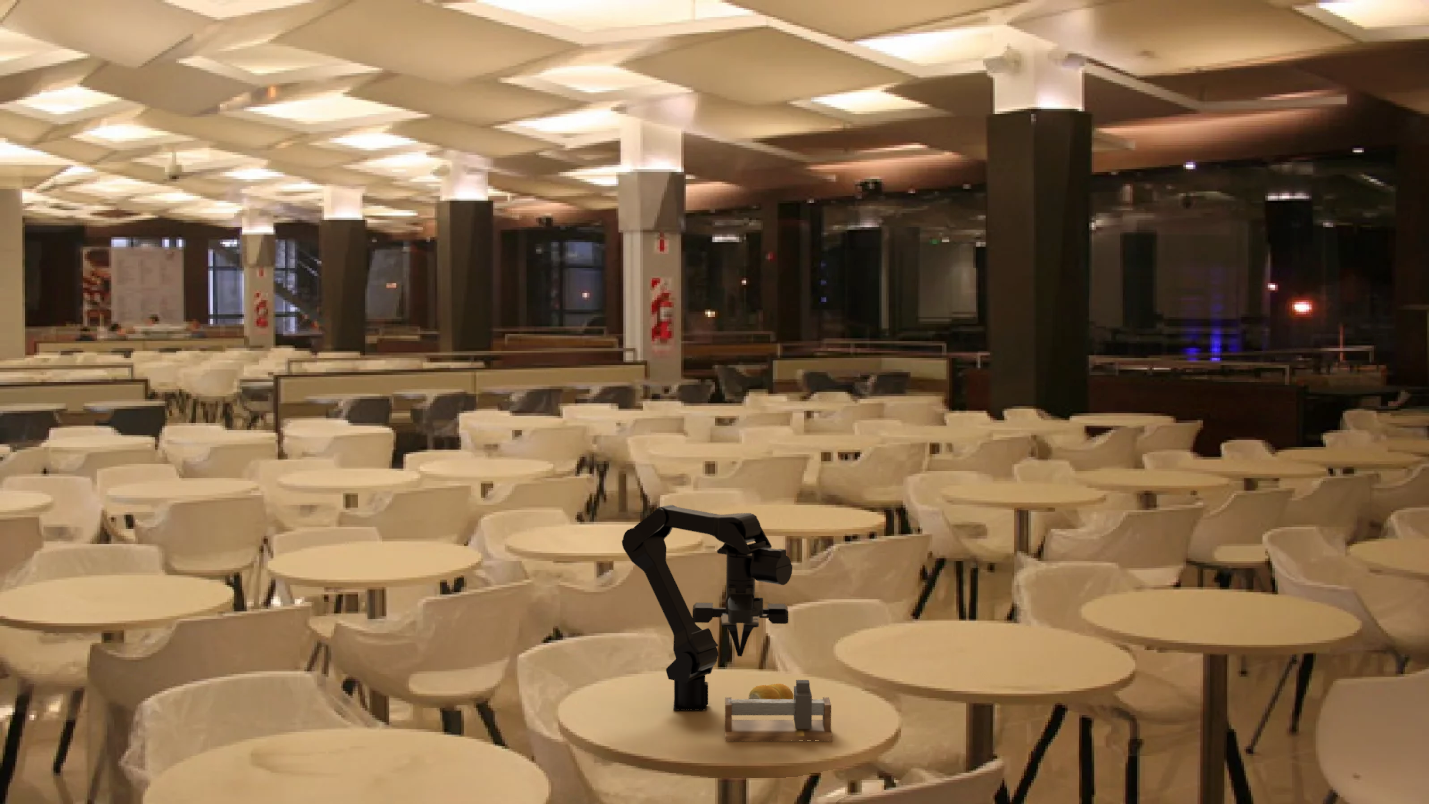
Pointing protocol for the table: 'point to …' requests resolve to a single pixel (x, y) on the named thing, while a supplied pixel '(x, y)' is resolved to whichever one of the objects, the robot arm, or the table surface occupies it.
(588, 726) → the table surface
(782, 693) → the bread roll
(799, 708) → the grey stepped block
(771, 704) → the brushed metal beam
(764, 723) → the stand
